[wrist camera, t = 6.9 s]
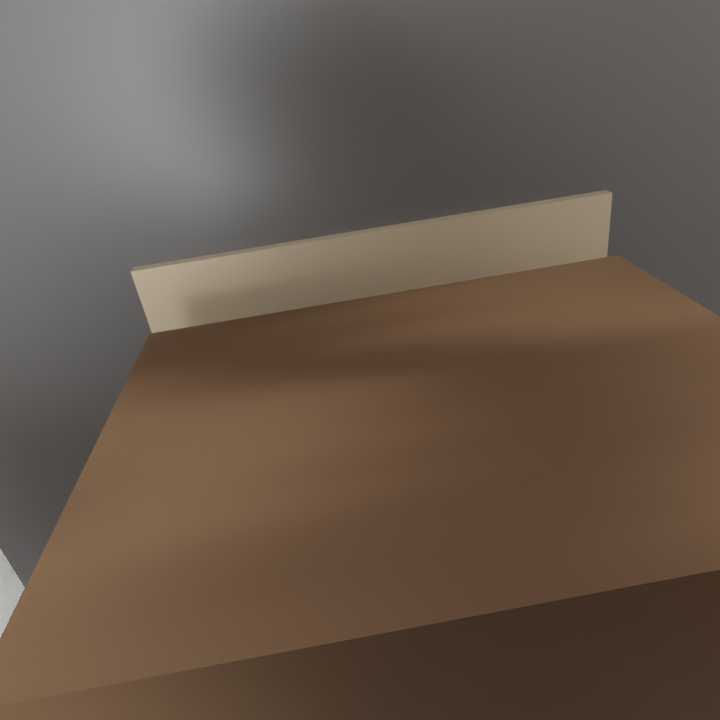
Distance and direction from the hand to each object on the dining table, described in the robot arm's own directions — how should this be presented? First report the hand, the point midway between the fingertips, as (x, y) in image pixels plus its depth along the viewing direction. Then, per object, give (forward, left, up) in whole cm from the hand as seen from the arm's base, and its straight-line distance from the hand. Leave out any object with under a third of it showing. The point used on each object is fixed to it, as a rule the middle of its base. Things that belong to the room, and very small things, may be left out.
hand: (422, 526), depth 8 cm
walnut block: (0, 0, -1) cm, 1 cm away
